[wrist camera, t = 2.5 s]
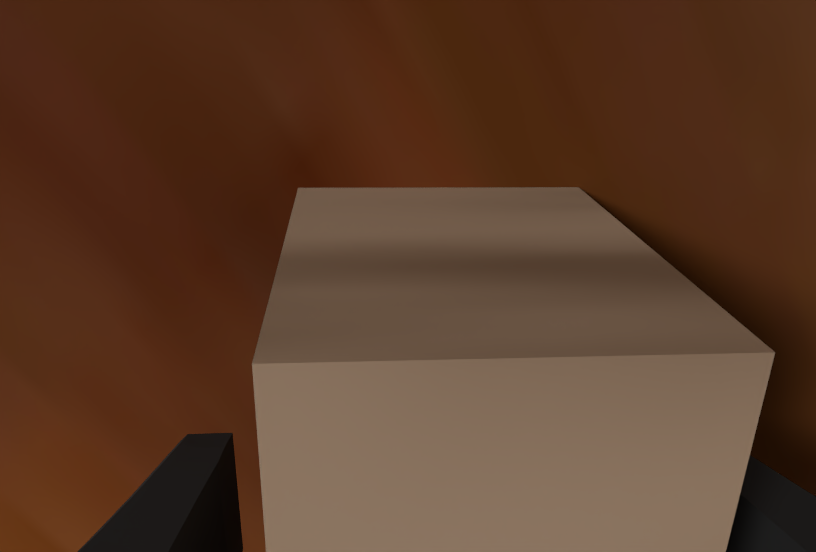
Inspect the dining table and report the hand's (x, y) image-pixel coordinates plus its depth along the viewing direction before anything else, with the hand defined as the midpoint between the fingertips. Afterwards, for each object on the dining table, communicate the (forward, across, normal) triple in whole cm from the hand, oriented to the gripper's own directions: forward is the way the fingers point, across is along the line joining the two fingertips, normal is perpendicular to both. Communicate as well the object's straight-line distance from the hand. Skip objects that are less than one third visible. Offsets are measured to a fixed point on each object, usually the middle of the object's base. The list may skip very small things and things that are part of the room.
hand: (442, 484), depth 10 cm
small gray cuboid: (+2, 0, +1) cm, 2 cm away
